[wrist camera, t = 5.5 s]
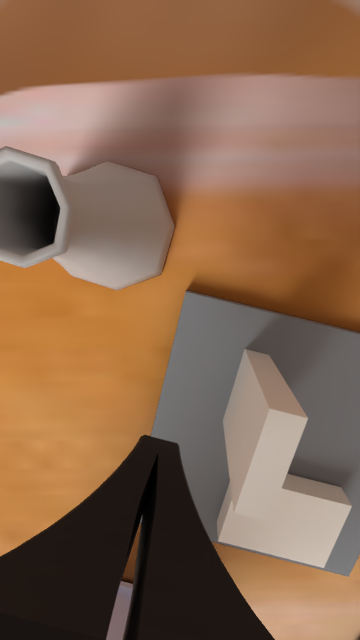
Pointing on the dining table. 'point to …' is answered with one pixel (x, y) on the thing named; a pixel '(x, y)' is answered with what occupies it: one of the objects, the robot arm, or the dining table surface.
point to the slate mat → (303, 380)
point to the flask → (83, 219)
